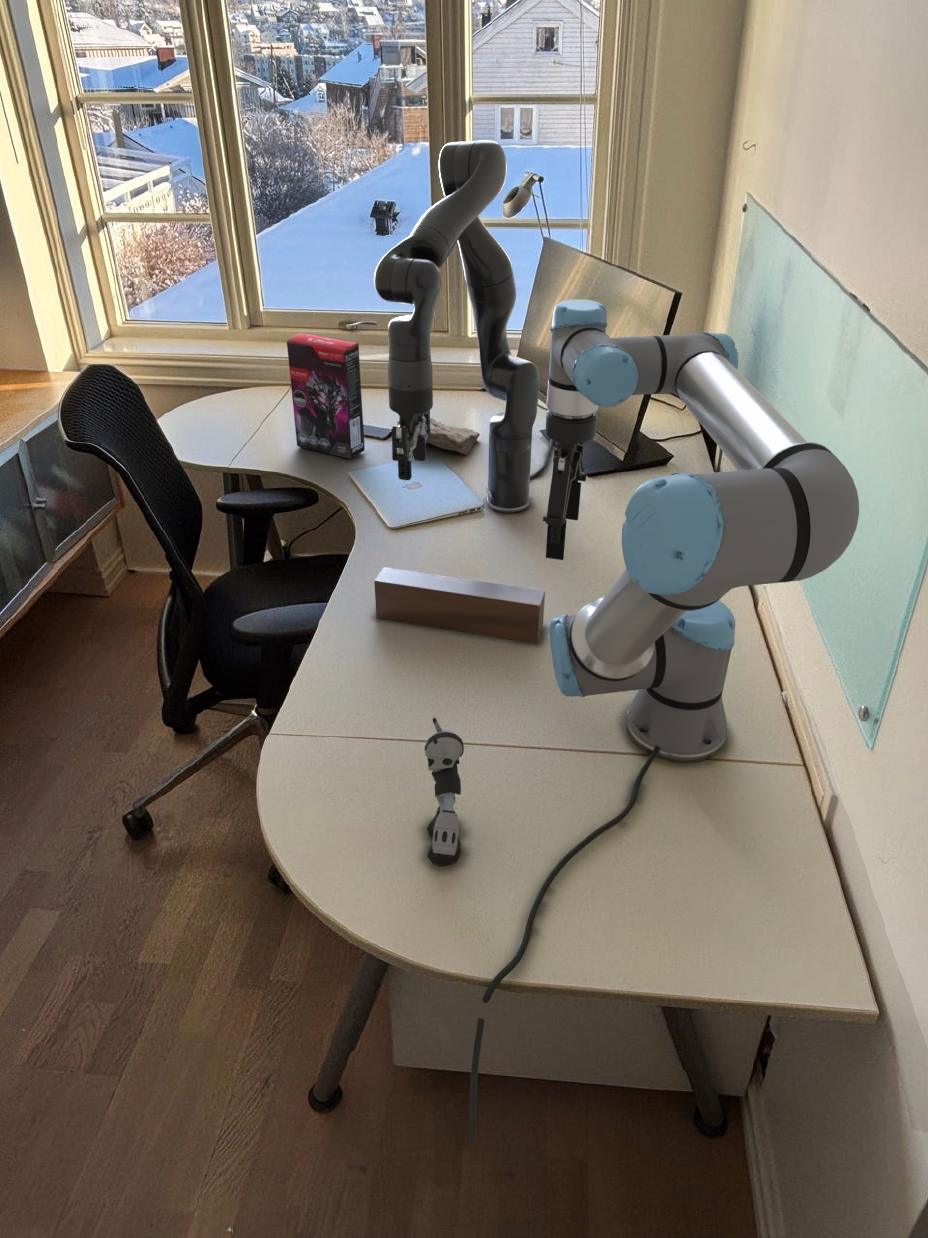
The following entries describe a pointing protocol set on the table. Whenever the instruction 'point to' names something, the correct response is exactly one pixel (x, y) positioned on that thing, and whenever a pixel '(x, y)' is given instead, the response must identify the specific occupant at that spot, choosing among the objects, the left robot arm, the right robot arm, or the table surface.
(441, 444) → the stone
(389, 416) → the table surface
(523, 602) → the beam
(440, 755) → the robot
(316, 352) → the graphics card box
